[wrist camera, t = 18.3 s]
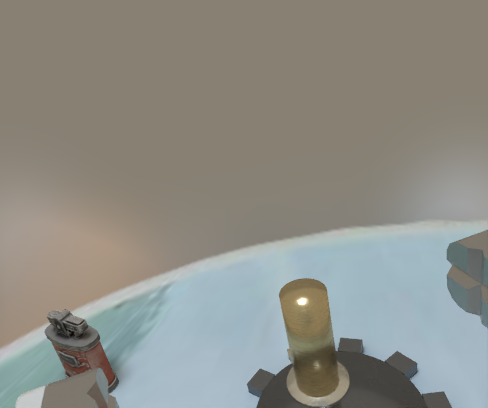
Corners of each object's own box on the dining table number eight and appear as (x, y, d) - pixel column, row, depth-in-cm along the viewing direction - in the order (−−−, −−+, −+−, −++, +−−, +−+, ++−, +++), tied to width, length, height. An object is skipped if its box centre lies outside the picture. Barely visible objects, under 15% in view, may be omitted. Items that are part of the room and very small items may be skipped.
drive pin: (306, 403, 41) (289, 314, 37) (289, 372, 45) (272, 287, 41) (347, 387, 42) (335, 297, 38) (327, 357, 46) (314, 273, 41)
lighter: (61, 380, 53) (29, 317, 49) (82, 361, 55) (53, 299, 51) (103, 400, 48) (72, 332, 44) (125, 378, 51) (97, 312, 47)
